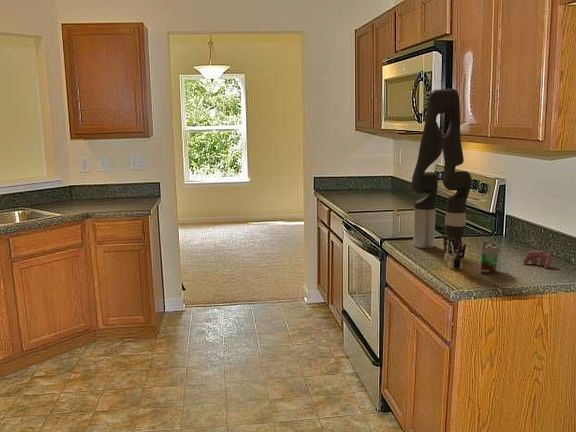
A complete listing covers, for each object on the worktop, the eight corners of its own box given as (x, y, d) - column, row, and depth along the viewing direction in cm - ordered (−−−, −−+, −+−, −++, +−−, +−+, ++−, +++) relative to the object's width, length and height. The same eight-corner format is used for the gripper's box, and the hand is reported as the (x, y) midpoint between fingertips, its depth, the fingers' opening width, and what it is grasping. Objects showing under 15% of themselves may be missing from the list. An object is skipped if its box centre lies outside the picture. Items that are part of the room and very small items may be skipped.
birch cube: (444, 265, 219) (444, 253, 218) (455, 265, 220) (456, 252, 219) (450, 269, 214) (450, 256, 213) (462, 268, 215) (462, 256, 214)
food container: (498, 276, 204) (500, 249, 203) (480, 274, 207) (482, 248, 205) (499, 267, 216) (500, 242, 214) (482, 266, 218) (483, 241, 216)
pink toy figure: (550, 271, 216) (555, 254, 217) (546, 268, 213) (551, 250, 214) (525, 266, 223) (530, 249, 224) (521, 263, 220) (526, 246, 221)
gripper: (437, 220, 220) (435, 261, 223) (455, 227, 206) (452, 271, 209) (455, 219, 221) (453, 260, 224) (473, 226, 207) (471, 270, 211)
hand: (453, 265), depth 217 cm, fingers open, 5 cm apart
